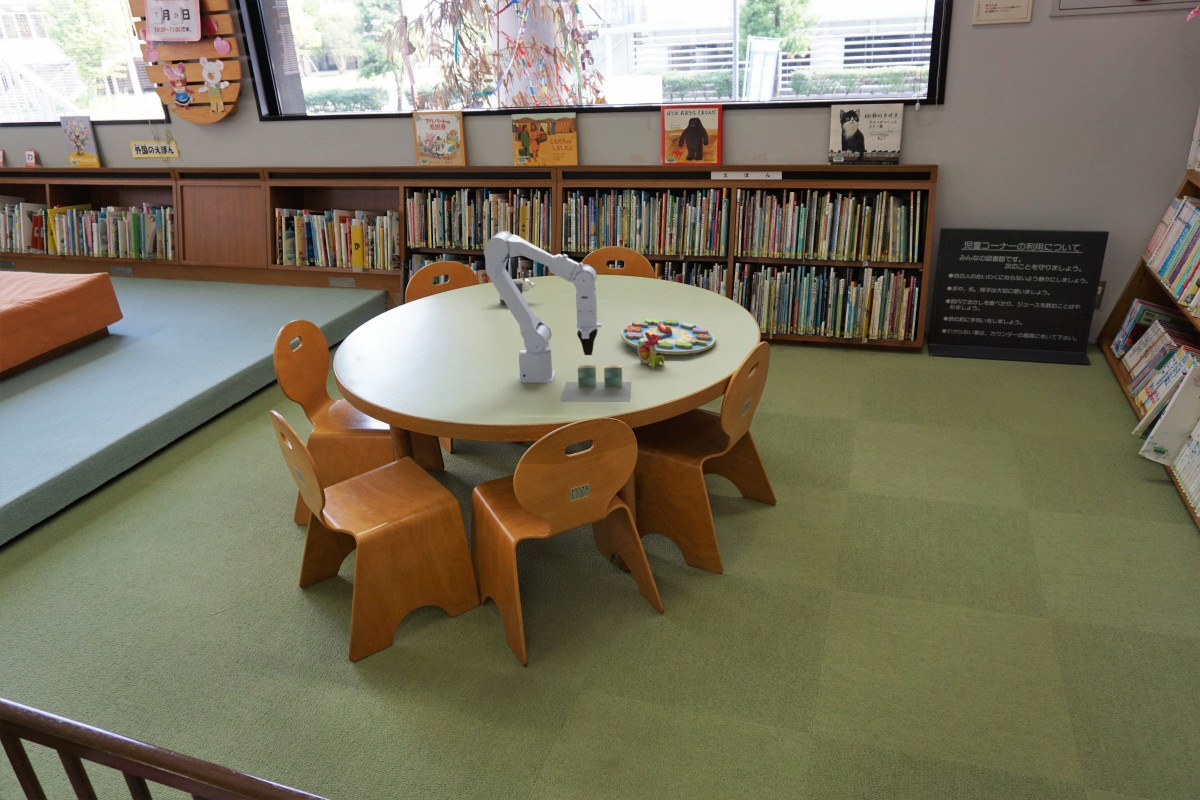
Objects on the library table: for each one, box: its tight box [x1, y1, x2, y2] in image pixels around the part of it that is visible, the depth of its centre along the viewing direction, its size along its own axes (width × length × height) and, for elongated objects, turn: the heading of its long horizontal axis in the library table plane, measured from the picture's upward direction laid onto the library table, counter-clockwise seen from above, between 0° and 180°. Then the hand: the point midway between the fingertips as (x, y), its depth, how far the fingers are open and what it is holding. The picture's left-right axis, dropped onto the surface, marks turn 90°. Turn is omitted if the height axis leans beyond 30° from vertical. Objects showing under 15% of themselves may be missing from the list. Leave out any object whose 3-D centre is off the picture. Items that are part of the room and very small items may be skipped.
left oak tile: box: [577, 364, 597, 387], centre depth 230 cm, size 5×2×6 cm, turn 86°
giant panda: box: [498, 277, 536, 306], centre depth 310 cm, size 15×6×10 cm, turn 103°
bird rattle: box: [636, 332, 665, 369], centre depth 244 cm, size 6×11×9 cm
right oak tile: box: [603, 364, 623, 387], centre depth 230 cm, size 5×2×6 cm, turn 86°
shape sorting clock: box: [620, 318, 716, 355], centre depth 264 cm, size 31×30×6 cm
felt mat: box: [560, 381, 632, 403], centre depth 228 cm, size 19×14×1 cm
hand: (588, 354), depth 234 cm, fingers closed
